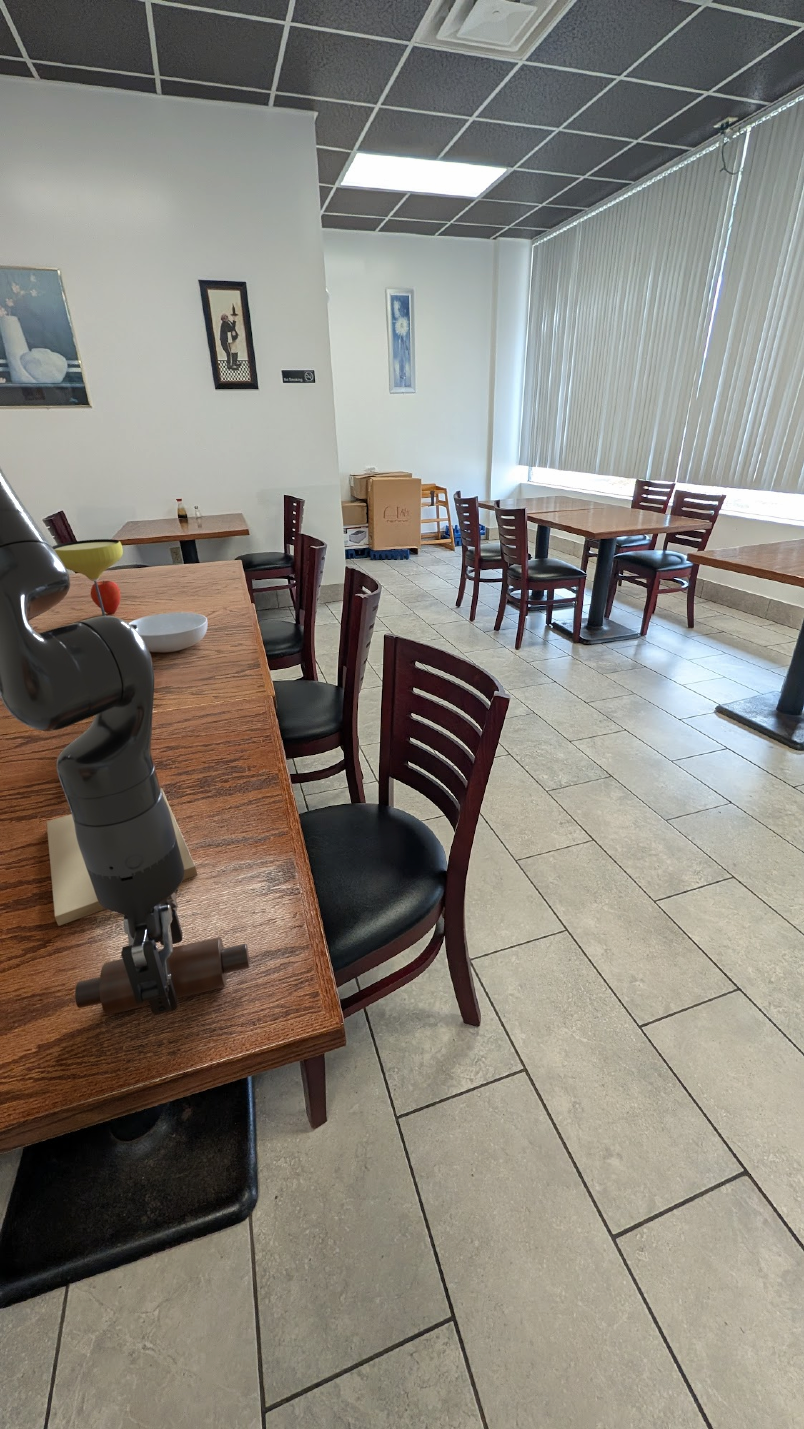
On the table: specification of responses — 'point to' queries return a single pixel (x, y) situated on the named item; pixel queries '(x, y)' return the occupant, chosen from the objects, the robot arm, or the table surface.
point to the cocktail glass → (90, 558)
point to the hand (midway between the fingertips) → (169, 973)
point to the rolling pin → (188, 968)
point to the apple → (106, 595)
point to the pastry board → (85, 870)
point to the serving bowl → (171, 630)
